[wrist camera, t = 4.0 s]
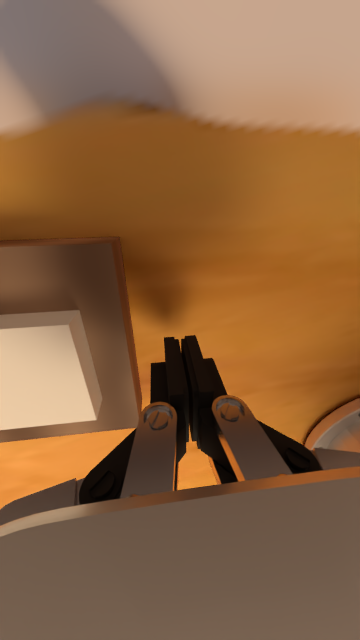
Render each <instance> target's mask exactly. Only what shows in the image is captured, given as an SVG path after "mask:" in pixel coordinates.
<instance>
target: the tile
mask: <svg viewBox="0 0 360 640" xmlns="http://www.w3.org/2000/svg"><path fill="white" fill-rule="evenodd" d="M101 402H102V395H101V392H100V388H99V384H98V380H97V376H96V372H95V369H94V365H93V361H92V357H91V353H90V349H89V345H88V342H87V338H86V334H85V330H84V326H83V322H82V318H81V315H80V311H79V310H72V311H55V312H38V313H22V314H5V315H0V430H7V429H16V428H26V427H35V426H45V425H54V424H64V423H73V422H83V421H92V420H97V417H98V413H99V409H100V406H101Z"/></svg>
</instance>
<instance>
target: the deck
mask: <svg viewBox="0 0 360 640" xmlns="http://www.w3.org/2000/svg"><path fill="white" fill-rule="evenodd" d="M72 310H79V311H80V315H81V318H82V322H83V326H84V330H85V334H86V338H87V342H88V345H89V349H90V353H91V357H92V361H93V365H94V369H95V372H96V376H97V380H98V384H99V388H100V392H101V395H102V402H101V406H100V409H99V413H98V417H97V420H92V421H83V422H73V423H64V424H54V425H45V426H35V427H26V428H16V429H7V430H0V443H1V442H10V441H19V440H28V439H37V438H47V437H56V436H65V435H74V434H83V433H92V432H101V431H110V430H119V429H128V428H137V425H138V421H139V417H140V414H141V408H142V395H141V388H140V380H139V373H138V366H137V359H136V352H135V345H134V337H133V330H132V323H131V316H130V309H129V302H128V295H127V287H126V280H125V273H124V266H123V259H122V252H121V244H120V237H99V238H67V239H35V240H3V241H0V315H5V314H22V313H38V312H55V311H72Z"/></svg>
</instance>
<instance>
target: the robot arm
mask: <svg viewBox="0 0 360 640" xmlns="http://www.w3.org/2000/svg"><path fill="white" fill-rule="evenodd" d="M164 345H165V362H160V363H151V400H150V404H149V405H148V406H146V407H145V408H144V409H143V411H142V412H141V414H140V417H139V421H138V425H137V428H136V429H135V430H134V431H133V432H132V433H131V434H130V435H128V436H127V437H126V438H125V439H124V440H123V441H122V442H121V443H120V444H119V445H118V446H117V447H116V448H115V449H114V450H113V451H111V452H110V453H109V454H108V455H107V456H106V457H105V458H104V459H103V460H102V461H101V462H100V463H99V464H98V465H97V466H96V467H94V468H93V469H92V470H91V471H90V472H89V474H88V475H87V476H86V477H85V478H83V479H80V480H78V481H77V480H76V478H75V479H72V480H69V481H66V482H64V483H61V484H58V485H56V486H53V487H50V488H47V489H45V490H42V491H39V492H36V493H34V494H31V495H28V496H26V497H23V498H20V499H17V500H15V501H13V502H11V503H9V504H7V505H5V506H4V507H3V508H2V509H1V510H0V640H360V398H358V399H355V400H353V401H351V402H349V403H347V404H345V405H343V406H341V407H340V408H338V409H336V410H335V411H333V412H332V413H330V414H329V415H328V416H327V417H325V418H324V419H323V420H322V421H321V422H320V423H319V424H318V425H317V426H316V427H315V428H314V429H313V430H312V432H311V433H310V435H309V436H308V438H307V440H306V442H305V446H303V445H302V444H300V443H298V442H296V441H294V440H293V439H291V438H289V437H287V436H285V435H283V434H282V433H280V432H278V431H276V430H274V429H273V428H271V427H269V426H267V425H265V424H263V423H262V422H260V421H258V420H256V418H255V417H254V415H253V414H252V412H251V411H250V409H249V408H248V406H247V405H246V404H245V403H244V402H243V401H242V400H241V399H239V398H237V397H235V396H231V395H227V392H226V390H225V387H224V385H223V382H222V380H221V377H220V375H219V373H218V370H217V368H216V365H215V363H214V360H213V359H212V358H208V359H203V356H202V353H201V350H200V347H199V344H198V341H197V338H196V336H195V335H192V336H185V339H181V350H180V345H179V340H178V339H174V337H164ZM189 426H190V432H191V438H192V441H197V447H198V449H201V451H203V452H204V453H205V454H207V455H208V458H209V462H210V465H211V468H212V470H213V473H214V476H215V478H216V481H217V484H218V485H212V486H205V487H198V488H191V489H183V490H178V469H179V463H178V462H179V461H180V460H181V458H182V457H183V456H184V454H185V453H186V442H189Z"/></svg>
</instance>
